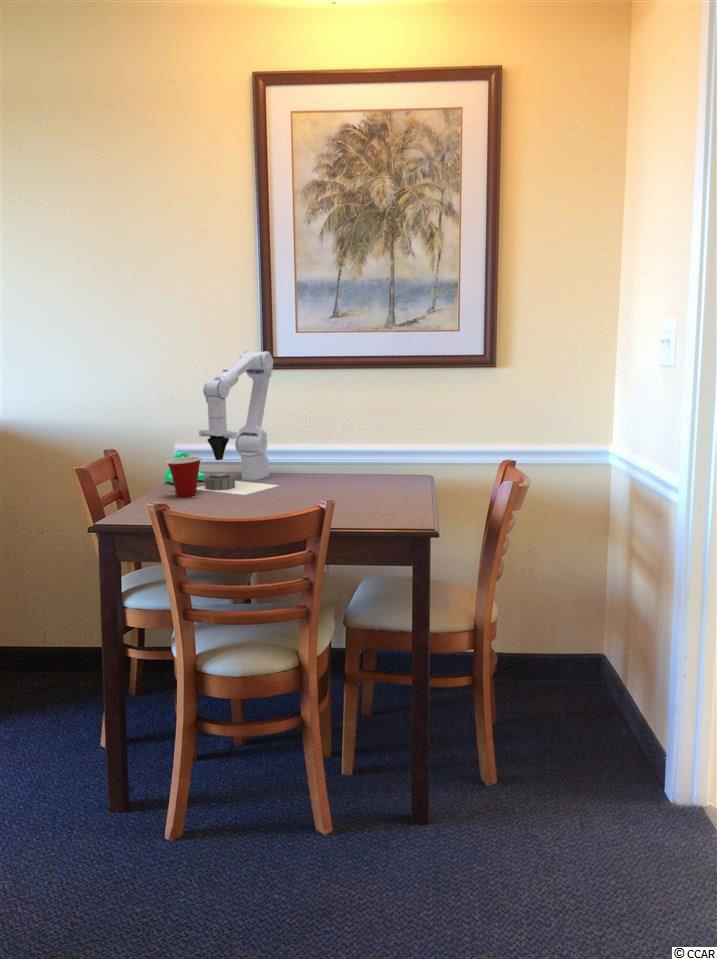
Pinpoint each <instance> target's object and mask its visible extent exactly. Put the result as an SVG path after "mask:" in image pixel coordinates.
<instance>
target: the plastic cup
mask: <svg viewBox="0 0 717 959" xmlns="http://www.w3.org/2000/svg"><path fill="white" fill-rule="evenodd" d="M201 459H202V457H201V456H190V457H183V456H182V457H181V458H176V459H174V458H172V459H168V460H166V464H167V465H168V468H170V470H171V474H172V478H173V482H174V483H173V486H174V489H175V494H176V496H177V498H181V497H187V498H193V497H192V496H194V497H196V494H197V490H196V489H197V487H198V483H199V482H198V481H199V480H198V472H200V470H199V469H200V463H201Z"/></svg>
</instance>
